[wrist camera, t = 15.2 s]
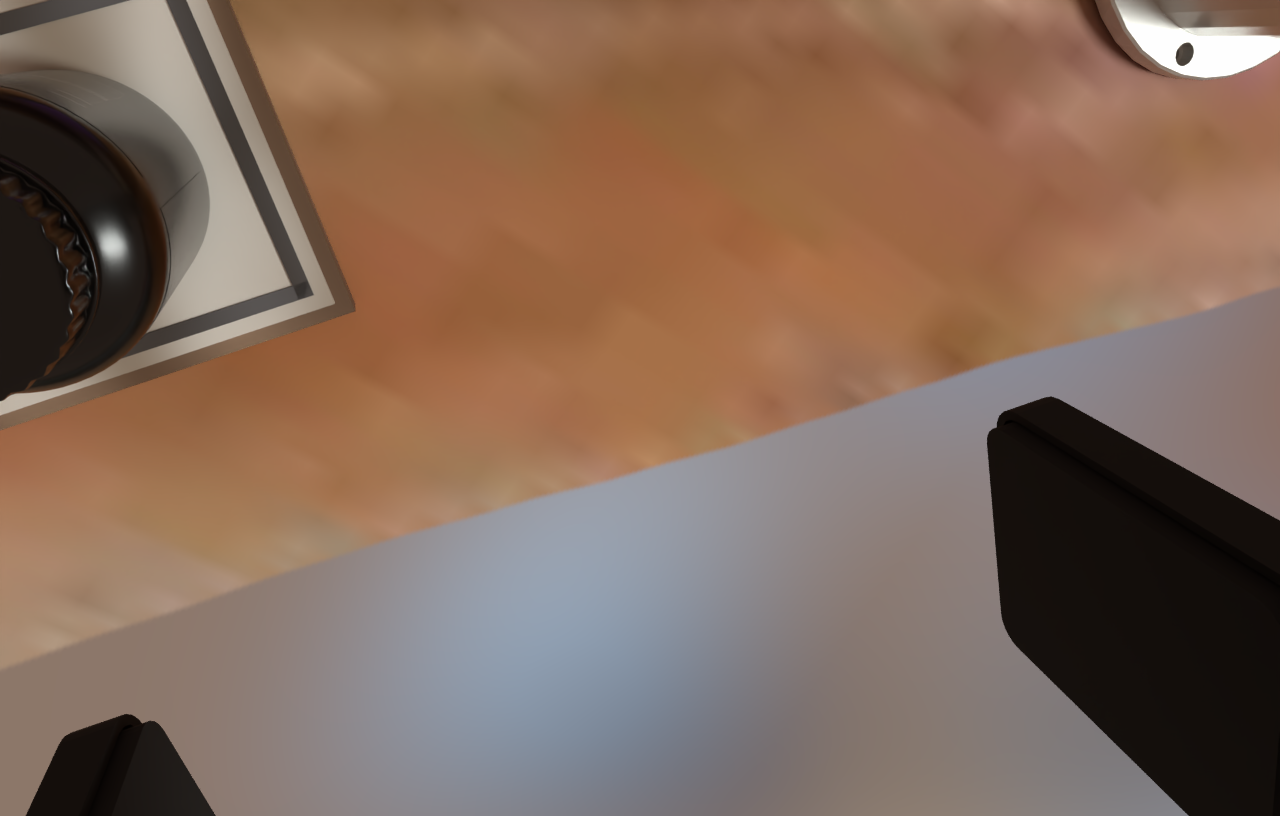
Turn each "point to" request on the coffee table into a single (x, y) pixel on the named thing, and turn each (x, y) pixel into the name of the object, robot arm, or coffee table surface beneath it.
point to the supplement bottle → (88, 223)
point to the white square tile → (234, 167)
